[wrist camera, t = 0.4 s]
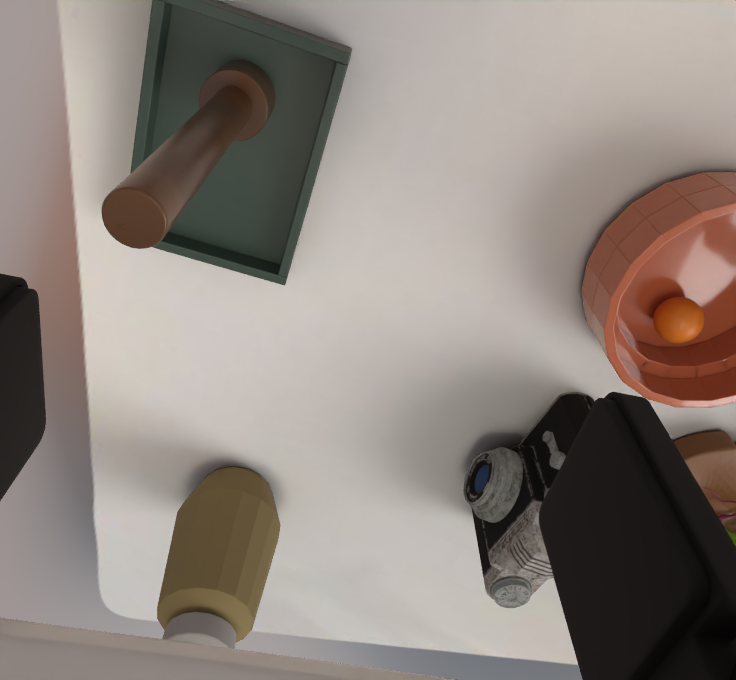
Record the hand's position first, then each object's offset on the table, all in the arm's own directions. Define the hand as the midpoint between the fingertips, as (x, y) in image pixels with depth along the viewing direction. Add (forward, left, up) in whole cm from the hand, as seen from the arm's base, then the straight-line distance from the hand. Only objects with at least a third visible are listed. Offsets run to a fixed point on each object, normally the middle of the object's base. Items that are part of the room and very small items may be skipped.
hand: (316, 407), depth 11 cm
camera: (+22, +20, -30) cm, 42 cm away
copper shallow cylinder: (+4, +24, -30) cm, 38 cm away
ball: (+7, +24, -27) cm, 37 cm away
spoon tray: (+5, -6, -30) cm, 31 cm away
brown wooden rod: (+2, -6, -29) cm, 30 cm away
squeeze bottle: (+33, 0, -30) cm, 45 cm away
